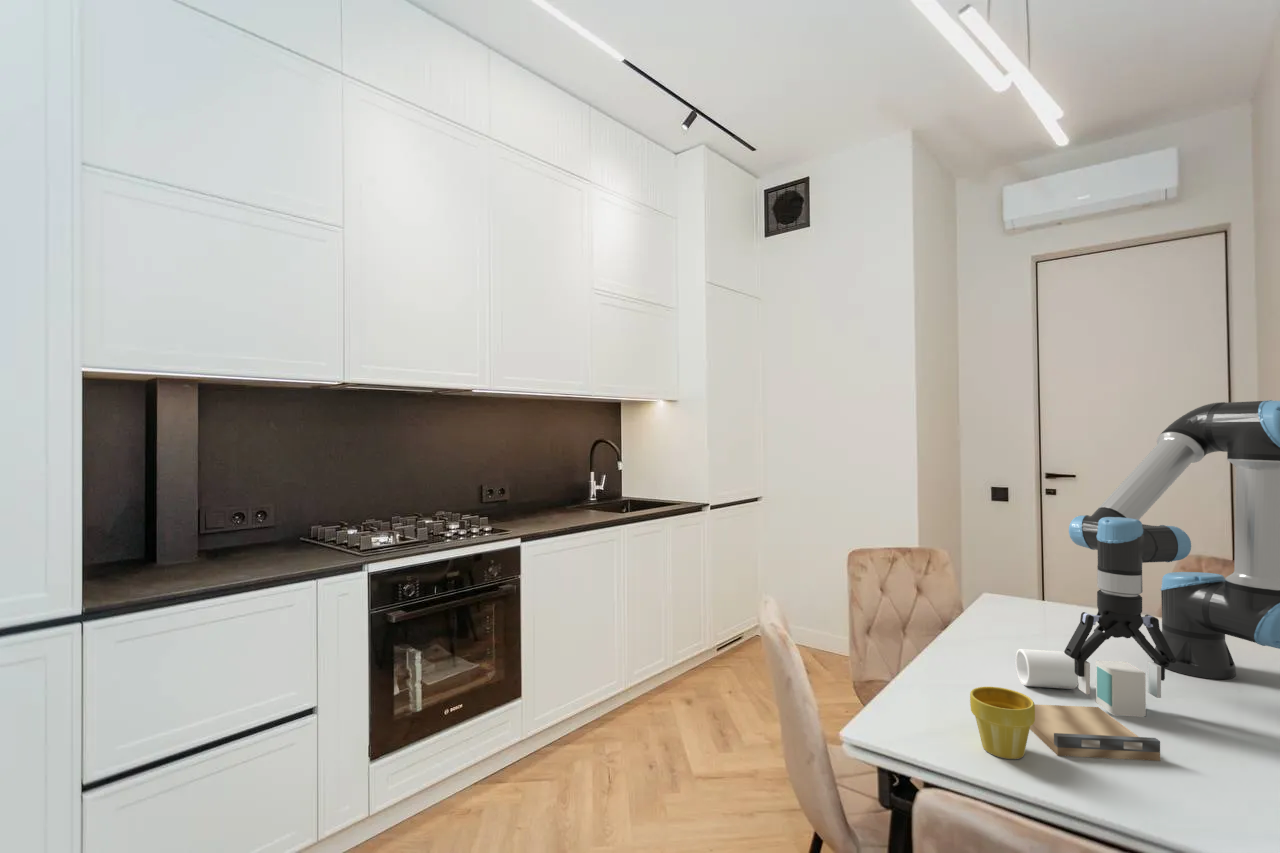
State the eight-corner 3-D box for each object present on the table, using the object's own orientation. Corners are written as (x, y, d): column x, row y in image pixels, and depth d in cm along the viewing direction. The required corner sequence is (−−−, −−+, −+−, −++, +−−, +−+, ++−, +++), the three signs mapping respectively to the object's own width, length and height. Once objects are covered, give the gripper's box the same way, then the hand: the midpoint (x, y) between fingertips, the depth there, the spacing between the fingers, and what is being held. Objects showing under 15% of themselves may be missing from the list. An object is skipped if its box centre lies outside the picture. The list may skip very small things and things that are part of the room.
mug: (1078, 695, 138) (1078, 659, 138) (1028, 691, 140) (1028, 656, 140) (1054, 674, 150) (1054, 640, 150) (1008, 671, 152) (1008, 638, 152)
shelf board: (1098, 714, 128) (1098, 697, 128) (1160, 761, 110) (1160, 741, 110) (1010, 710, 130) (1010, 693, 130) (1058, 756, 112) (1057, 736, 112)
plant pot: (958, 737, 119) (958, 686, 119) (1009, 735, 120) (1009, 684, 120) (993, 767, 109) (993, 711, 109) (1049, 763, 110) (1049, 708, 110)
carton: (1127, 703, 133) (1126, 661, 133) (1146, 716, 127) (1146, 672, 127) (1095, 702, 134) (1095, 660, 134) (1113, 715, 128) (1112, 671, 128)
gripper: (1171, 589, 133) (1171, 689, 133) (1046, 585, 136) (1045, 682, 136) (1198, 599, 126) (1198, 704, 126) (1065, 594, 129) (1065, 697, 128)
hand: (1119, 693), depth 131 cm, fingers open, 13 cm apart
